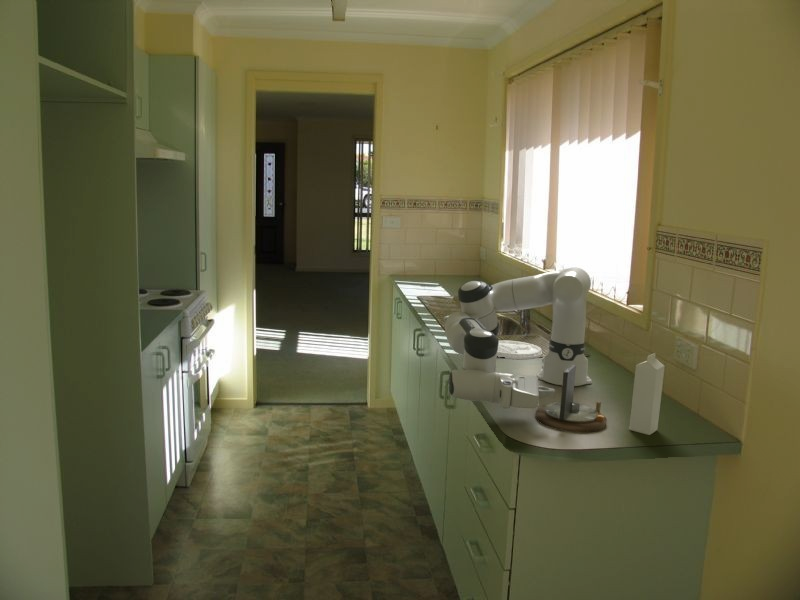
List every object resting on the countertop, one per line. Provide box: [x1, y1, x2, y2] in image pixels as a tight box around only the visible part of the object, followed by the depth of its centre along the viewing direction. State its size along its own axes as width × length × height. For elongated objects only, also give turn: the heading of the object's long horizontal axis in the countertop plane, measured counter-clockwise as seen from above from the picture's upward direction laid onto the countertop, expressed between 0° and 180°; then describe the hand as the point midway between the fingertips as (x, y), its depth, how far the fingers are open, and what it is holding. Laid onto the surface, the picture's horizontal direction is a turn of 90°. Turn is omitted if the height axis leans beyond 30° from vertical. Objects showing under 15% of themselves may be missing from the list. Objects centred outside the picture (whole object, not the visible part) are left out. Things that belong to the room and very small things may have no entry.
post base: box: [535, 401, 607, 433], centre depth 209 cm, size 20×20×5 cm
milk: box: [628, 352, 666, 436], centre depth 202 cm, size 6×6×22 cm
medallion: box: [497, 339, 543, 360], centre depth 287 cm, size 24×27×2 cm
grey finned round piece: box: [544, 365, 605, 423], centre depth 206 cm, size 18×17×15 cm
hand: (555, 393), depth 203 cm, fingers closed
